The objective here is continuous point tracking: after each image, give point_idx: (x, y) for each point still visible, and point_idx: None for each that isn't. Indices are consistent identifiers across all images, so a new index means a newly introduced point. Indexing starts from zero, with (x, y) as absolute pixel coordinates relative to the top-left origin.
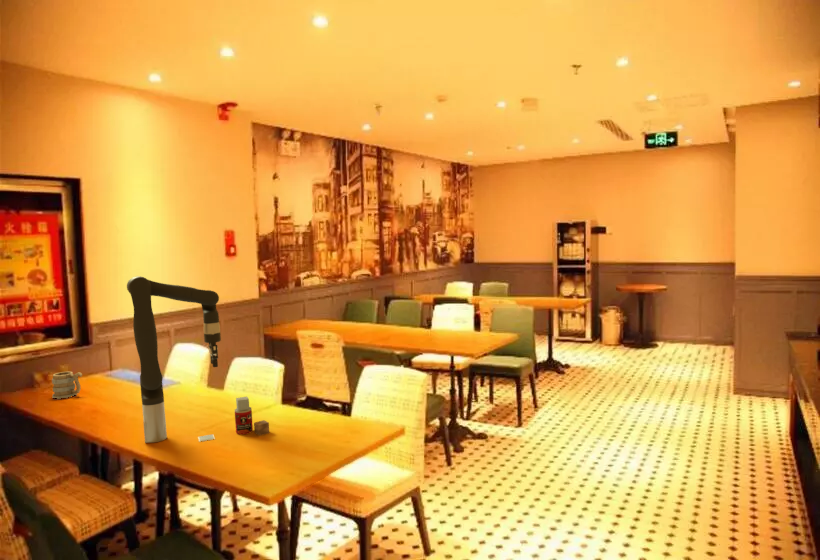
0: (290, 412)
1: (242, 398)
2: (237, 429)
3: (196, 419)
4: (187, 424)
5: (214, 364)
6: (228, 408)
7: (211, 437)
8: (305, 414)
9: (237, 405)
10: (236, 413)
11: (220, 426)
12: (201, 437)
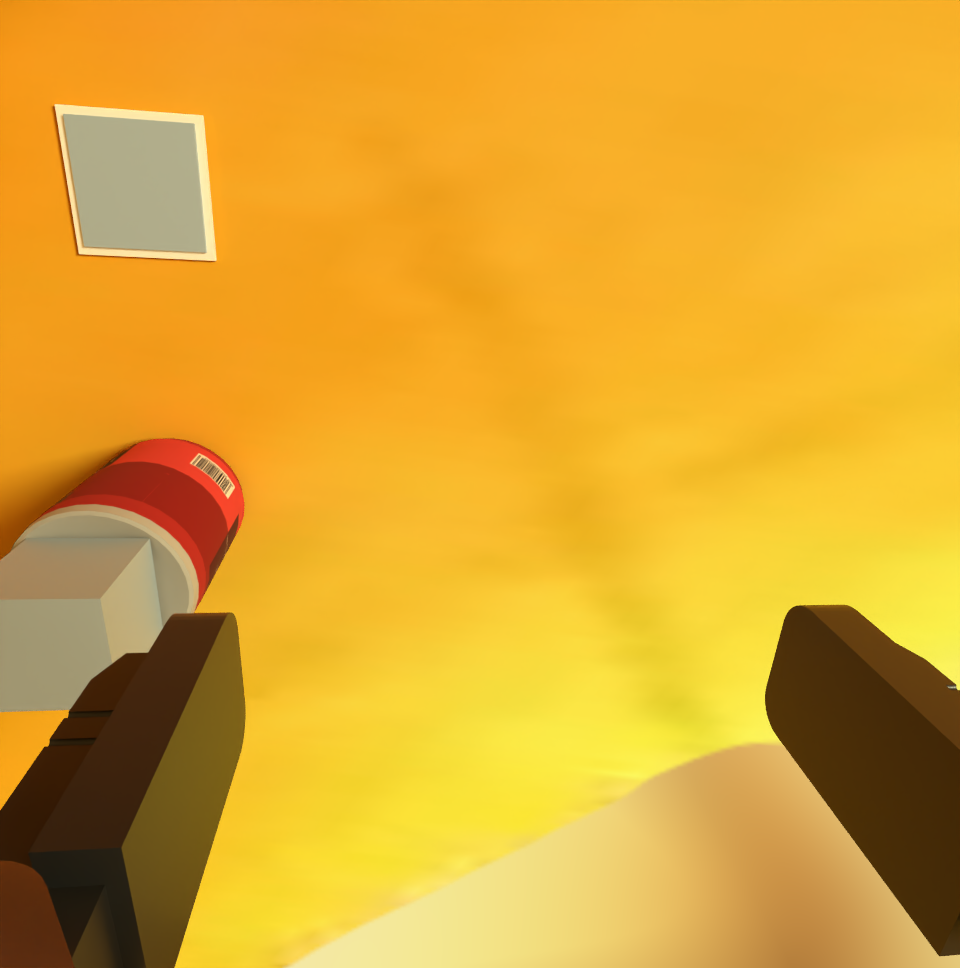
0: (464, 800)
1: (44, 658)
2: (120, 454)
3: (751, 189)
4: (659, 84)
5: (79, 722)
6: (853, 475)
7: (117, 229)
8: (367, 860)
9: (40, 563)
10: (48, 510)
11: (421, 350)
12: (155, 143)
